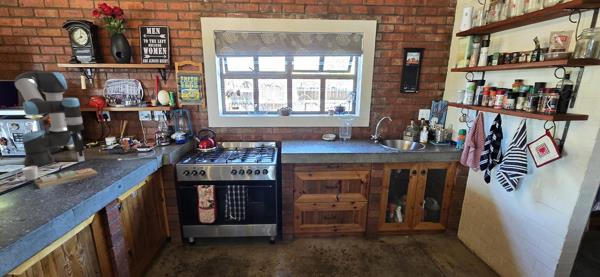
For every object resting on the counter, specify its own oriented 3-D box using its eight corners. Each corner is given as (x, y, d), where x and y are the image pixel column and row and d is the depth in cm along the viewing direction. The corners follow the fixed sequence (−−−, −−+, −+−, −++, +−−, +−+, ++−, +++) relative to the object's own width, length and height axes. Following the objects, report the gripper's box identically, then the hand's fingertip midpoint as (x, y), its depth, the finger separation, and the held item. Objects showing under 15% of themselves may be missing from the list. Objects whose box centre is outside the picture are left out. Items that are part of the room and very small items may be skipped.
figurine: (118, 152, 210) (116, 138, 207) (132, 150, 217) (130, 136, 214) (122, 154, 203) (120, 140, 201) (136, 152, 211) (134, 138, 208)
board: (35, 183, 145) (34, 179, 144) (90, 171, 166) (90, 167, 165) (40, 189, 138) (39, 185, 137) (97, 175, 158) (97, 171, 158)
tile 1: (40, 181, 144) (39, 176, 143) (54, 177, 149) (53, 173, 148) (43, 183, 141) (42, 179, 140) (57, 180, 146) (56, 176, 145)
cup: (37, 181, 148) (34, 168, 146) (14, 184, 144) (10, 171, 142) (43, 177, 154) (40, 165, 152) (21, 180, 150) (18, 167, 148)
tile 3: (76, 174, 157) (75, 171, 157) (88, 172, 162) (87, 168, 161) (79, 177, 154) (79, 173, 153) (91, 174, 159) (91, 170, 158)
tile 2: (59, 176, 150) (58, 172, 150) (72, 174, 155) (71, 170, 155) (62, 179, 147) (61, 174, 147) (75, 176, 152) (74, 172, 151)
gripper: (63, 123, 151) (70, 160, 157) (69, 126, 144) (77, 164, 149) (79, 121, 157) (85, 157, 163) (86, 124, 150) (92, 161, 155)
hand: (81, 161), depth 156 cm, fingers closed
